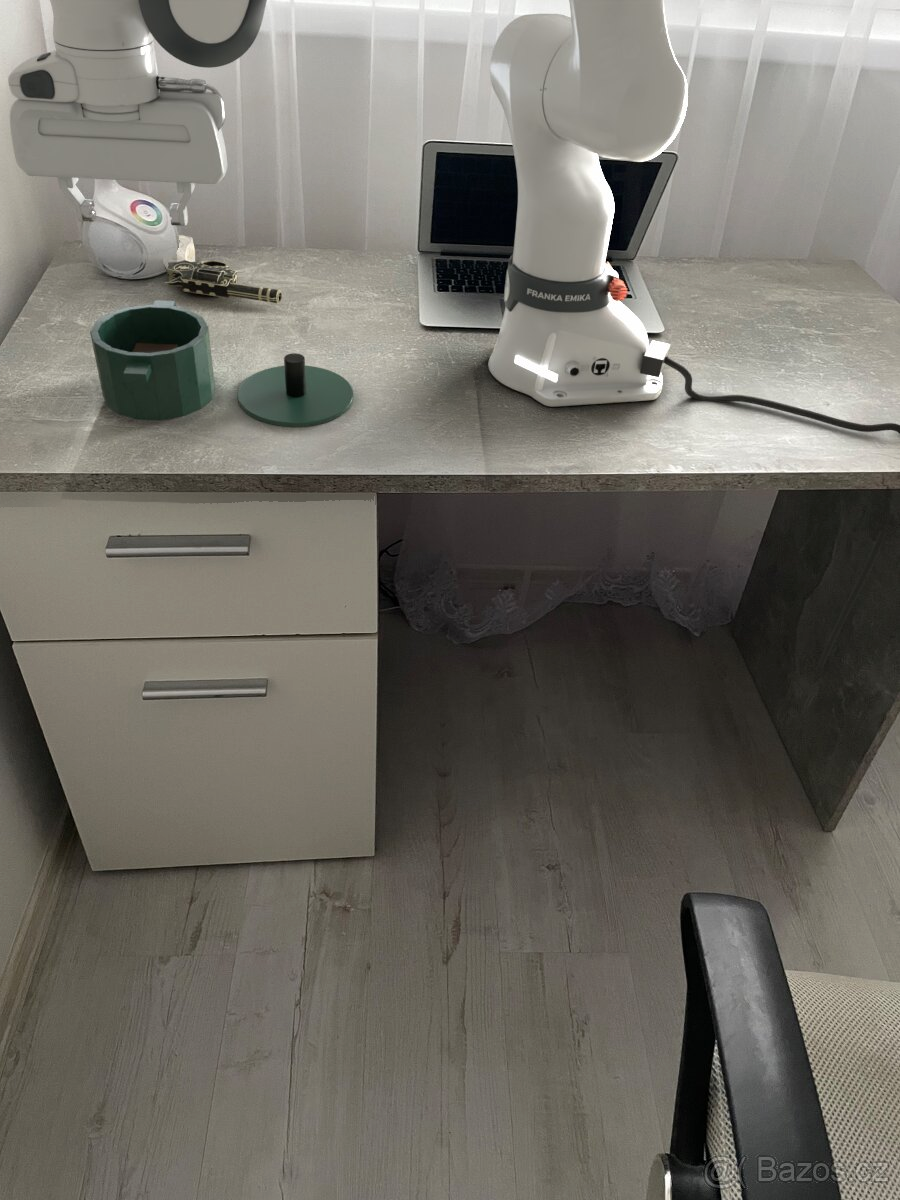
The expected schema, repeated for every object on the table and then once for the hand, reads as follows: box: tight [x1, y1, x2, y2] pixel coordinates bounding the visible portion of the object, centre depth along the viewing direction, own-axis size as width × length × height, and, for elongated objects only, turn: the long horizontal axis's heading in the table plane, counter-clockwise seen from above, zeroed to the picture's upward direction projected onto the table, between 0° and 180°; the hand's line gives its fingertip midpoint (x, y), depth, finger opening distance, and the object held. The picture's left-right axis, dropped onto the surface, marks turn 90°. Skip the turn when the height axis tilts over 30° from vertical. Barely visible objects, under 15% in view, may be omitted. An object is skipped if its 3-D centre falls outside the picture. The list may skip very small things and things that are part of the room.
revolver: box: [164, 234, 282, 304], centre depth 135 cm, size 4×21×12 cm
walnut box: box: [133, 343, 178, 353], centre depth 110 cm, size 5×5×5 cm
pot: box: [89, 299, 216, 421], centre depth 109 cm, size 13×18×8 cm
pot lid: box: [237, 352, 354, 428], centre depth 112 cm, size 14×14×6 cm
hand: (133, 221), depth 99 cm, fingers open, 8 cm apart
